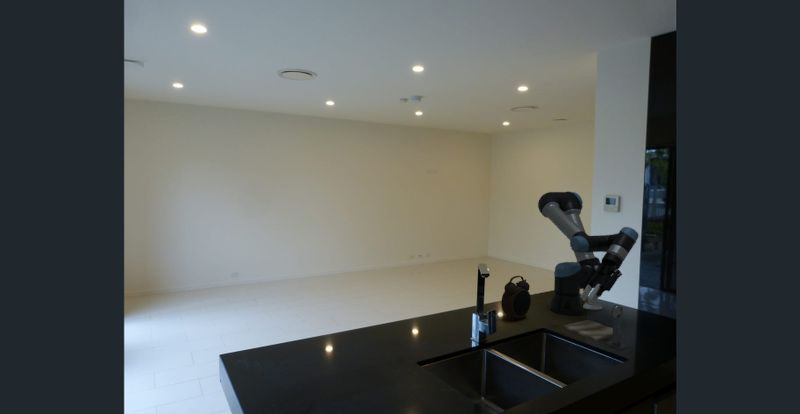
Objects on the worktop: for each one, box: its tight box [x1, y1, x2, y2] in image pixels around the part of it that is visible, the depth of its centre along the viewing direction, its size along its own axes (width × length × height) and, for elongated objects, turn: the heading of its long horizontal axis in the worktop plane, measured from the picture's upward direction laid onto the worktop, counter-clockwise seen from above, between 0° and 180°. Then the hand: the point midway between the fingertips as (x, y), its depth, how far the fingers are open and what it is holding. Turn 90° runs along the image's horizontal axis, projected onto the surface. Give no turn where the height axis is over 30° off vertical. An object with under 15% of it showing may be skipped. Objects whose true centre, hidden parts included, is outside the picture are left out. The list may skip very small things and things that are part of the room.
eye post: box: [605, 304, 628, 350], centre depth 157 cm, size 6×5×16 cm
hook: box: [582, 284, 603, 310], centre depth 171 cm, size 8×12×7 cm
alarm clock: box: [501, 275, 532, 322], centre depth 188 cm, size 14×7×20 cm, turn 123°
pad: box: [562, 319, 623, 342], centre depth 173 cm, size 16×16×1 cm
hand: (587, 300), depth 170 cm, fingers closed on hook, 4 cm apart
